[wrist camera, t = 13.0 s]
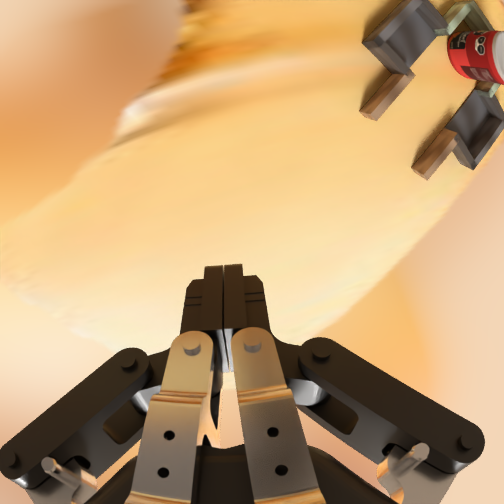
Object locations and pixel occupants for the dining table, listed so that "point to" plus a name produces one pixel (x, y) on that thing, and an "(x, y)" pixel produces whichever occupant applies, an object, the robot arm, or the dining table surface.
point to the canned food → (478, 55)
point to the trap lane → (399, 62)
